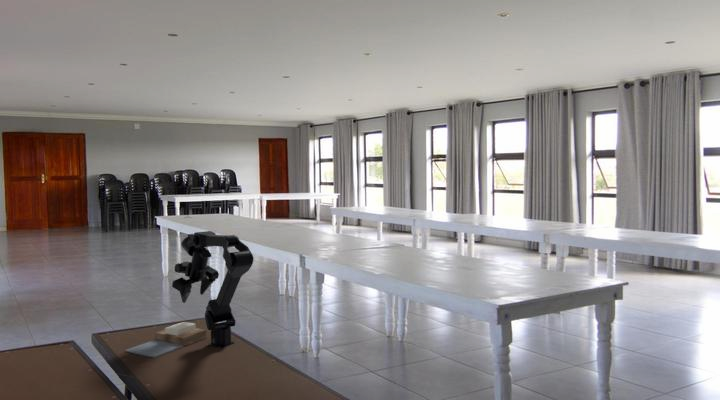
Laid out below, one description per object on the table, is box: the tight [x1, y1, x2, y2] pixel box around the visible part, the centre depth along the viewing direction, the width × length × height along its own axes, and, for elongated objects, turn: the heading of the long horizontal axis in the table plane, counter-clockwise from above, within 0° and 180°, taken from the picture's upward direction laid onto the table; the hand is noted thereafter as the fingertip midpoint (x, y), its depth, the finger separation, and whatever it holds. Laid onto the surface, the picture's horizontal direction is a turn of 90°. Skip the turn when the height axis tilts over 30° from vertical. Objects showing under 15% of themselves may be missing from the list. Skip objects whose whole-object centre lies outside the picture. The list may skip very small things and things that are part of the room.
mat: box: [124, 339, 184, 359], centre depth 198 cm, size 14×13×1 cm
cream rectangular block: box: [164, 321, 197, 336], centre depth 208 cm, size 6×9×2 cm, turn 152°
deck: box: [154, 327, 207, 347], centre depth 208 cm, size 14×11×3 cm
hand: (192, 298), depth 217 cm, fingers open, 9 cm apart
